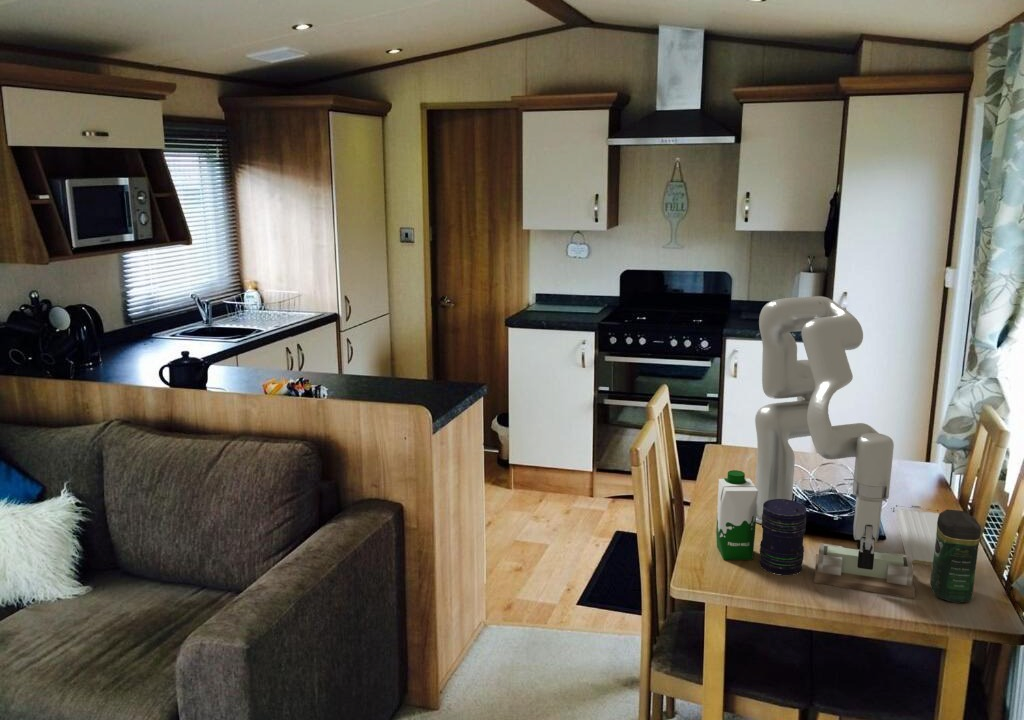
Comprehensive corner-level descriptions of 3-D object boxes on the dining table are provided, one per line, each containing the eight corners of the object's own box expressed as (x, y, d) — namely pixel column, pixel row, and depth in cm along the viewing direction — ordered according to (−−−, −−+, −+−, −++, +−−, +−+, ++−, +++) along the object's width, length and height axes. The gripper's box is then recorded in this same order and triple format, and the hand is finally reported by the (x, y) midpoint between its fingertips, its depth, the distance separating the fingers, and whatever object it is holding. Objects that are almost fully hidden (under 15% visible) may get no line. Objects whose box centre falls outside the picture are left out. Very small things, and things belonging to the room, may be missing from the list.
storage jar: (751, 567, 201) (755, 508, 198) (769, 552, 209) (773, 495, 205) (792, 580, 195) (797, 519, 192) (809, 564, 202) (813, 505, 199)
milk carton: (747, 545, 213) (751, 469, 208) (757, 561, 204) (762, 483, 199) (712, 545, 213) (715, 469, 208) (720, 562, 204) (724, 483, 199)
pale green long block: (826, 570, 197) (827, 552, 195) (826, 563, 200) (827, 545, 199) (902, 581, 191) (903, 562, 190) (901, 574, 194) (902, 556, 193)
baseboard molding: (900, 563, 204) (956, 571, 200) (901, 552, 203) (957, 559, 199) (889, 512, 232) (937, 518, 229) (890, 502, 232) (939, 508, 228)
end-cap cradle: (814, 582, 194) (816, 560, 193) (815, 559, 205) (817, 538, 203) (914, 598, 187) (916, 575, 185) (910, 573, 198) (912, 551, 196)
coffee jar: (976, 606, 183) (986, 526, 179) (936, 602, 185) (945, 522, 181) (964, 584, 192) (974, 508, 188) (926, 581, 194) (934, 504, 190)
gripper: (852, 473, 200) (846, 540, 204) (853, 500, 184) (846, 573, 188) (887, 477, 197) (880, 545, 201) (891, 505, 181) (884, 578, 185)
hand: (864, 558), depth 195 cm, fingers open, 9 cm apart
